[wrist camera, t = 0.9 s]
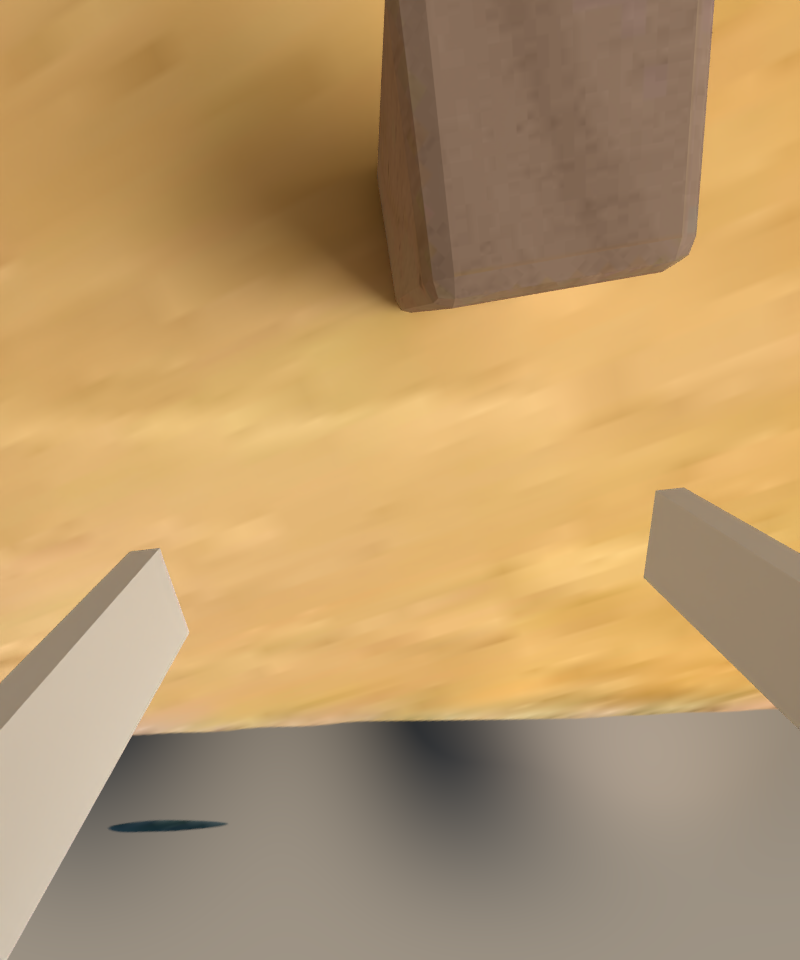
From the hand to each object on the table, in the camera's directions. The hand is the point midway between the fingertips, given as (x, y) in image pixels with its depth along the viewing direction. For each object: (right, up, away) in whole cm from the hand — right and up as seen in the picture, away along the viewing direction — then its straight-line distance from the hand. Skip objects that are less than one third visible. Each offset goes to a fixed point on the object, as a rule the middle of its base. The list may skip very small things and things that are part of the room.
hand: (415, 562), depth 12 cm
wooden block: (+4, +21, +21) cm, 30 cm away
